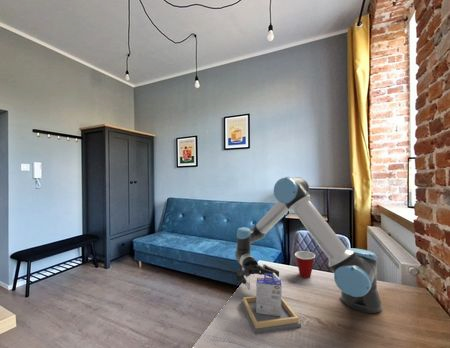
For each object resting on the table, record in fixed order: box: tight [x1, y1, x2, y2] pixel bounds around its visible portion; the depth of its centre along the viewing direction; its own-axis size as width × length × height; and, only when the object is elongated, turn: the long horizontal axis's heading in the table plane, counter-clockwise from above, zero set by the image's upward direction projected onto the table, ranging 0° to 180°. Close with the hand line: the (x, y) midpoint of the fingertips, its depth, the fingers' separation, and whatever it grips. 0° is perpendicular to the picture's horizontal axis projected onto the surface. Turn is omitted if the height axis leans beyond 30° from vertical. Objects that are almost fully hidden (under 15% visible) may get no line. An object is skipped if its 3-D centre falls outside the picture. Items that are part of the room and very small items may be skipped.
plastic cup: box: [294, 250, 316, 279], centre depth 122 cm, size 11×11×12 cm
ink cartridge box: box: [255, 273, 283, 316], centre depth 88 cm, size 10×6×14 cm, turn 79°
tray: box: [240, 296, 302, 334], centre depth 88 cm, size 18×18×3 cm
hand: (264, 284), depth 91 cm, fingers open, 13 cm apart
